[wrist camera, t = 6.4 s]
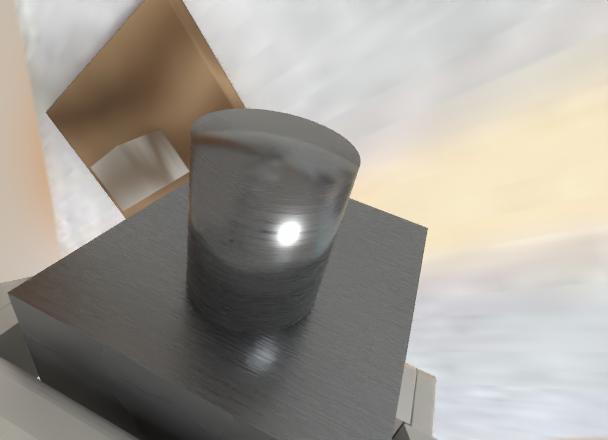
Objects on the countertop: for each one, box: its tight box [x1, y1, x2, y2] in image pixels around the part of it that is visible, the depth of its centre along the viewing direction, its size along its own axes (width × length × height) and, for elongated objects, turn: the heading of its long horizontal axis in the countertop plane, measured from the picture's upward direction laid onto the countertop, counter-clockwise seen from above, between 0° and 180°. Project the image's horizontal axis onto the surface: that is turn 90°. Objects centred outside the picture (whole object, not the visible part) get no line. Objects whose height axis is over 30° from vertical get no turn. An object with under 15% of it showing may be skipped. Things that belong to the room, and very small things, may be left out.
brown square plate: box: [46, 0, 246, 219], centre depth 29 cm, size 18×18×6 cm
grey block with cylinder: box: [7, 109, 428, 440], centre depth 9 cm, size 6×9×7 cm
